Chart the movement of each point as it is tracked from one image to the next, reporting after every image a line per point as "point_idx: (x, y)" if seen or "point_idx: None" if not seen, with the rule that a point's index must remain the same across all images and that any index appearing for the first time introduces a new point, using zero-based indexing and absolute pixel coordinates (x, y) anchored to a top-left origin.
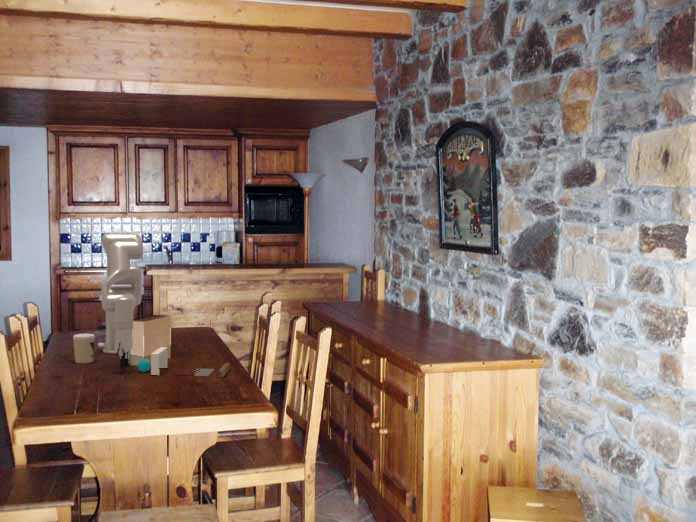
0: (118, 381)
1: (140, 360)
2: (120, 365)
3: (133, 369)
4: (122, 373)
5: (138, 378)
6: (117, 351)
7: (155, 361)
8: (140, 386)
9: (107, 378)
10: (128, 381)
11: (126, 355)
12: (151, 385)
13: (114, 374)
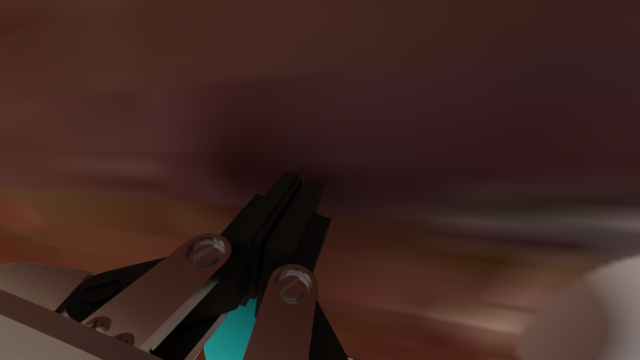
0: (30, 140)
1: (223, 355)
2: (278, 181)
3: (357, 248)
4: (225, 167)
5: (127, 240)
6: (32, 324)
7: None
8: (16, 228)
9: (55, 54)
10: (57, 191)
11: (175, 337)
12: (49, 263)
13: (185, 105)
